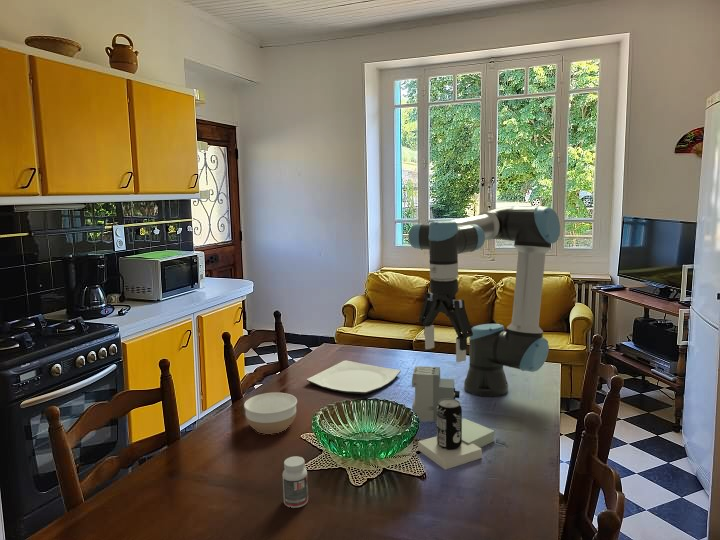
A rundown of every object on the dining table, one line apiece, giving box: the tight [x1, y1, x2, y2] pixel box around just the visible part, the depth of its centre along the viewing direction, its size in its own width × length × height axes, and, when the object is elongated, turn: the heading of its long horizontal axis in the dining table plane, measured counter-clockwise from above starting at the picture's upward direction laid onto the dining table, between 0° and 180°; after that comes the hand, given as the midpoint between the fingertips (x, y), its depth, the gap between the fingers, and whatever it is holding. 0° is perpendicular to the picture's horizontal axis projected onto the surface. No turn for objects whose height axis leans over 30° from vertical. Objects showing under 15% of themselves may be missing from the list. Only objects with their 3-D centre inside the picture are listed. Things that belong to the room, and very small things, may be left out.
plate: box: [306, 359, 402, 395], centre depth 199 cm, size 29×29×3 cm
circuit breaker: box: [411, 365, 461, 423], centre depth 164 cm, size 8×14×15 cm, turn 78°
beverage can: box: [436, 398, 463, 450], centre depth 141 cm, size 7×7×12 cm
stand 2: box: [462, 418, 495, 449], centre depth 149 cm, size 11×11×3 cm
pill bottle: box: [281, 455, 309, 509], centre depth 121 cm, size 6×6×10 cm
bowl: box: [243, 392, 298, 435], centre depth 161 cm, size 16×16×8 cm
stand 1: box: [417, 435, 483, 471], centre depth 142 cm, size 12×12×2 cm
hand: (444, 354), depth 145 cm, fingers open, 13 cm apart
